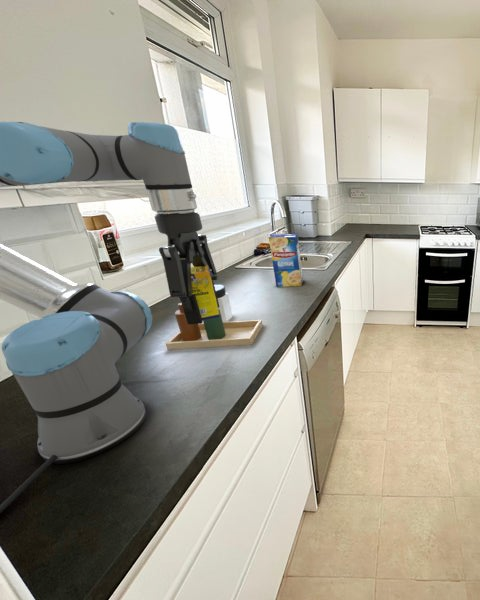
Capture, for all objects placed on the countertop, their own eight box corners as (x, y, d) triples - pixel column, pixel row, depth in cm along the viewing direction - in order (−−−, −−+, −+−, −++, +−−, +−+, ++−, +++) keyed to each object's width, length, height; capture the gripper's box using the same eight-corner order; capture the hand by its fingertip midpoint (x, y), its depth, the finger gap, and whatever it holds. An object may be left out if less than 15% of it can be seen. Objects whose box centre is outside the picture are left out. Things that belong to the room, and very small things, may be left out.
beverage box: (301, 285, 141) (295, 236, 132) (276, 286, 139) (268, 237, 131) (303, 280, 147) (297, 233, 138) (279, 282, 145) (271, 234, 137)
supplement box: (220, 317, 70) (209, 271, 66) (189, 324, 67) (175, 275, 63) (218, 308, 75) (207, 264, 71) (189, 314, 72) (176, 268, 68)
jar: (204, 329, 101) (195, 294, 97) (202, 320, 108) (194, 287, 103) (234, 322, 106) (227, 289, 101) (231, 314, 112) (224, 282, 108)
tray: (251, 346, 91) (250, 338, 90) (168, 352, 88) (165, 343, 87) (263, 327, 103) (261, 319, 102) (189, 331, 100) (187, 323, 99)
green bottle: (222, 340, 93) (213, 305, 89) (205, 341, 93) (195, 305, 88) (228, 332, 98) (220, 298, 93) (211, 333, 97) (203, 299, 93)
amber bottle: (197, 341, 92) (187, 306, 88) (179, 342, 92) (168, 307, 87) (204, 333, 97) (195, 299, 92) (187, 334, 96) (177, 300, 92)
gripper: (166, 218, 53) (199, 335, 62) (218, 206, 72) (238, 297, 81) (118, 219, 52) (159, 338, 61) (184, 206, 71) (208, 298, 80)
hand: (204, 314), depth 71 cm, fingers closed on supplement box, 8 cm apart
